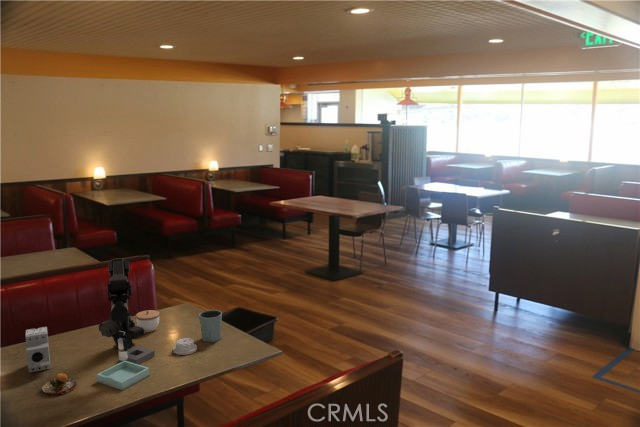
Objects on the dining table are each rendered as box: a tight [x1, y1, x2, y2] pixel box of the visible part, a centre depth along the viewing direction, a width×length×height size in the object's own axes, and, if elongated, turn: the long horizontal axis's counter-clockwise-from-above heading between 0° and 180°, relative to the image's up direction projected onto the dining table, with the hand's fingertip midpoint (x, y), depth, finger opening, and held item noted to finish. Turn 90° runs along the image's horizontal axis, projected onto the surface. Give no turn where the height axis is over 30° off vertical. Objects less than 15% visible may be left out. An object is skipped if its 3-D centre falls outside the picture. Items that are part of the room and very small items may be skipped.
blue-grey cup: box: [198, 309, 223, 343], centre depth 244 cm, size 10×10×12 cm
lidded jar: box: [135, 309, 160, 333], centre depth 254 cm, size 11×11×9 cm
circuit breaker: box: [25, 326, 51, 373], centre depth 212 cm, size 8×14×15 cm, turn 27°
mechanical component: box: [172, 337, 198, 356], centre depth 232 cm, size 10×4×10 cm
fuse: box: [117, 338, 128, 362], centre depth 205 cm, size 3×3×8 cm
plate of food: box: [40, 371, 77, 397], centre depth 199 cm, size 12×12×8 cm
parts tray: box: [96, 361, 151, 391], centre depth 207 cm, size 14×14×3 cm
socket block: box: [118, 345, 156, 365], centre depth 224 cm, size 10×10×2 cm
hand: (122, 350), depth 205 cm, fingers closed on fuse, 3 cm apart
